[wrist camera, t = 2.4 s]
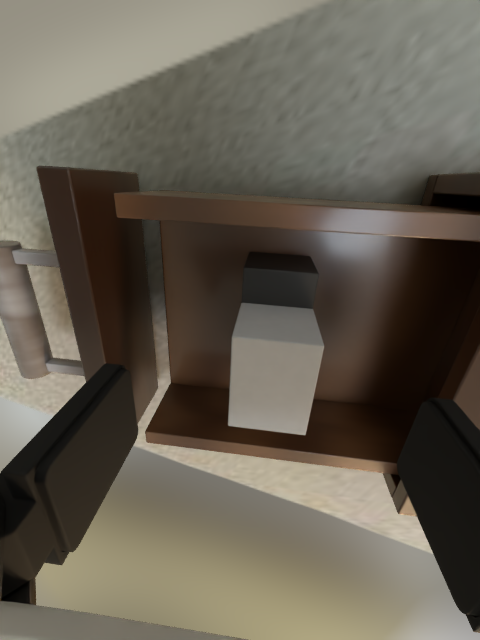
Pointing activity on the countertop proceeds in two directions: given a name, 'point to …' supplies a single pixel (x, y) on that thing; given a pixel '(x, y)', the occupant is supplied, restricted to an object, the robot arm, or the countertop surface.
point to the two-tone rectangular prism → (275, 345)
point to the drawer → (225, 300)
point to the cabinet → (476, 351)
